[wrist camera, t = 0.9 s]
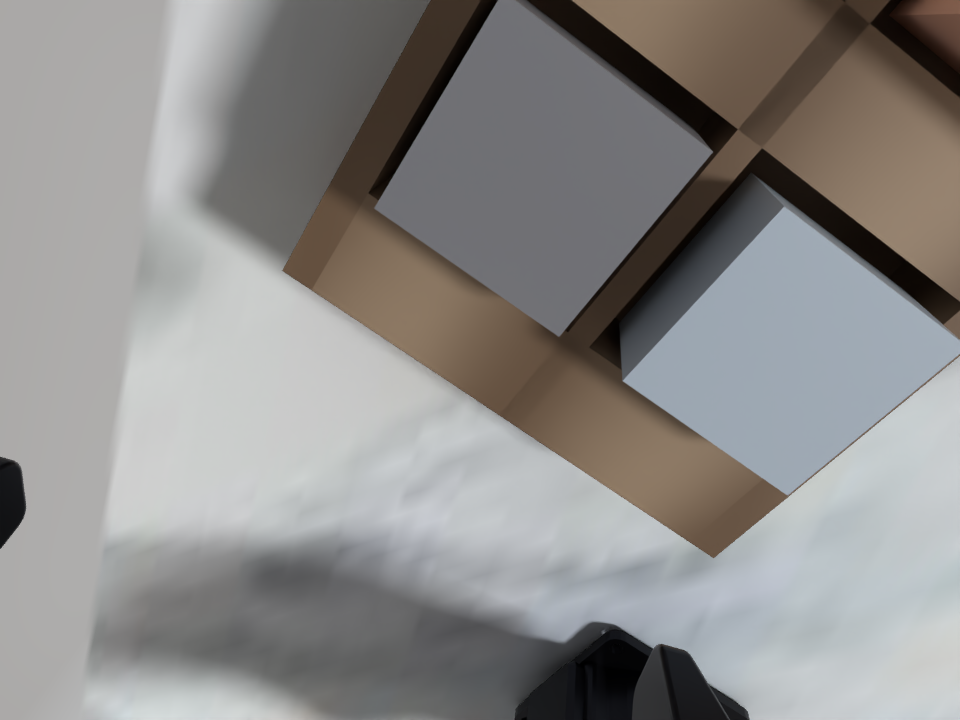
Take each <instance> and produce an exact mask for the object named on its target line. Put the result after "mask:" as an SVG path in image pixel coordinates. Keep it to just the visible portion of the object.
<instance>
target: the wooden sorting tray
mask: <svg viewBox="0 0 960 720" xmlns="http://www.w3.org/2000/svg"><path fill="white" fill-rule="evenodd" d="M497 1H498V0H431V1H430V3H429V4H428V6H427V8H426V10H425V12H424V13H423V15H422V17H421V19H420V21H419V23H418V24H417V26H416V28H415V30H414V32H413V34H412V35H411V37H410V39H409V41H408V43H407V44H406V46H405V48H404V50H403V52H402V54H401V55H400V57H399V59H398V61H397V63H396V65H395V66H394V68H393V70H392V72H391V74H390V75H389V77H388V79H387V81H386V83H385V85H384V86H383V88H382V90H381V92H380V94H379V95H378V97H377V99H376V101H375V103H374V105H373V106H372V108H371V110H370V112H369V114H368V116H367V117H366V119H365V121H364V123H363V125H362V126H361V128H360V130H359V132H358V134H357V136H356V137H355V139H354V141H353V143H352V145H351V147H350V148H349V150H348V152H347V154H346V156H345V157H344V159H343V161H342V163H341V165H340V167H339V168H338V170H337V172H336V174H335V176H334V178H333V179H332V181H331V183H330V185H329V187H328V188H327V190H326V192H325V194H324V196H323V198H322V199H321V201H320V203H319V205H318V207H317V209H316V210H315V212H314V214H313V216H312V218H311V219H310V221H309V223H308V225H307V227H306V229H305V230H304V232H303V234H302V236H301V238H300V239H299V241H298V243H297V245H296V247H295V249H294V250H293V252H292V254H291V256H290V258H289V260H288V261H287V263H286V265H285V267H284V269H283V270H282V271H284V272H285V273H287V274H288V275H290V276H291V277H293V278H294V279H296V280H297V281H299V282H300V283H302V284H303V285H305V286H306V287H308V288H309V289H311V290H312V291H314V292H315V293H317V294H318V295H320V296H321V297H323V298H324V299H326V300H327V301H329V302H330V303H332V304H333V305H335V306H336V307H338V308H339V309H341V310H342V311H344V312H345V313H347V314H348V315H350V316H351V317H353V318H354V319H356V320H357V321H359V322H360V323H362V324H363V325H365V326H366V327H368V328H369V329H371V330H372V331H374V332H375V333H377V334H378V335H380V336H381V337H383V338H384V339H386V340H387V341H389V342H390V343H392V344H393V345H395V346H396V347H398V348H399V349H401V350H402V351H404V352H405V353H407V354H408V355H410V356H411V357H413V358H414V359H416V360H417V361H419V362H420V363H422V364H423V365H425V366H426V367H428V368H429V369H431V370H432V371H434V372H435V373H437V374H438V375H440V376H441V377H443V378H444V379H446V380H447V381H449V382H450V383H452V384H453V385H455V386H456V387H458V388H459V389H461V390H462V391H464V392H465V393H467V394H468V395H470V396H471V397H473V398H474V399H476V400H477V401H479V402H480V403H482V404H483V405H485V406H486V407H488V408H489V409H491V410H492V411H494V412H495V413H497V414H498V415H500V416H501V417H503V418H504V419H506V420H507V421H509V422H510V423H512V424H513V425H515V426H516V427H518V428H519V429H521V430H522V431H524V432H525V433H527V434H528V435H530V436H531V437H533V438H534V439H536V440H537V441H539V442H540V443H542V444H543V445H545V446H546V447H548V448H549V449H551V450H552V451H554V452H555V453H557V454H558V455H560V456H561V457H563V458H564V459H566V460H567V461H569V462H570V463H572V464H573V465H575V466H576V467H578V468H579V469H581V470H582V471H584V472H585V473H587V474H588V475H590V476H591V477H593V478H594V479H596V480H597V481H599V482H600V483H602V484H603V485H605V486H606V487H608V488H609V489H611V490H612V491H614V492H615V493H617V494H618V495H620V496H621V497H623V498H624V499H626V500H627V501H629V502H630V503H632V504H633V505H635V506H636V507H638V508H639V509H641V510H642V511H644V512H645V513H647V514H648V515H650V516H651V517H653V518H654V519H656V520H657V521H659V522H660V523H662V524H663V525H665V526H666V527H668V528H669V529H671V530H672V531H674V532H675V533H677V534H678V535H680V536H681V537H683V538H684V539H686V540H687V541H689V542H690V543H692V544H693V545H695V546H696V547H698V548H699V549H701V550H702V551H704V552H705V553H707V554H708V555H710V556H711V557H713V558H714V557H716V556H717V555H718V554H719V553H720V552H722V551H723V550H724V549H725V548H726V547H728V546H729V545H730V544H731V543H733V542H734V541H735V540H736V539H737V538H739V537H740V536H741V535H742V534H744V533H745V532H746V531H747V530H748V529H750V528H751V527H752V526H753V525H755V524H756V523H757V522H758V521H759V520H761V519H762V518H763V517H764V516H765V515H767V514H768V513H769V512H770V511H772V510H773V509H774V508H775V507H776V506H778V505H779V504H780V503H781V502H783V501H784V500H785V499H786V498H787V497H789V496H790V495H791V494H792V493H793V492H795V491H796V490H797V489H798V488H800V487H801V486H802V485H803V484H804V483H806V482H807V481H808V480H809V479H811V478H812V477H813V476H814V475H815V474H817V473H818V472H819V471H820V470H821V469H823V468H824V467H825V466H826V465H828V464H829V463H830V462H831V461H832V460H834V459H835V458H836V457H837V456H839V455H840V454H841V453H842V452H843V451H845V450H846V449H847V448H848V447H849V446H851V445H852V444H853V443H854V442H856V441H857V440H858V439H859V438H860V437H862V436H863V435H864V434H865V433H867V432H868V431H869V430H870V429H871V428H873V427H874V426H875V425H876V424H877V423H879V422H880V421H881V420H882V419H884V418H885V417H886V416H887V415H888V414H890V413H891V412H892V411H893V410H895V409H896V408H897V407H898V406H899V405H901V404H902V403H903V402H904V401H905V400H907V399H908V398H909V397H910V396H912V395H913V394H914V393H915V392H916V391H918V390H919V389H920V388H921V387H923V386H924V385H925V384H926V383H927V382H929V381H930V380H931V379H932V378H933V377H935V376H936V375H937V374H938V373H940V372H941V371H942V370H943V369H944V368H946V367H947V366H948V365H949V364H951V363H952V362H953V361H954V360H955V359H957V358H958V357H959V356H960V354H959V355H958V356H957V357H955V358H954V359H953V360H952V361H951V362H949V363H948V364H947V365H946V366H945V367H943V368H942V369H941V370H940V371H938V372H937V373H936V374H935V375H934V376H932V377H931V378H930V379H929V380H928V381H926V382H925V383H924V384H923V385H921V386H920V387H919V388H918V389H917V390H915V391H914V392H913V393H912V394H910V395H909V396H908V397H907V398H906V399H904V400H903V401H902V402H901V403H900V404H898V405H897V406H896V407H895V408H893V409H892V410H891V411H890V412H889V413H887V414H886V415H885V416H884V417H883V418H881V419H880V420H879V421H878V422H876V423H875V424H874V425H873V426H872V427H870V428H869V429H868V430H867V431H866V432H864V433H863V434H862V435H861V436H859V437H858V438H857V439H856V440H855V441H853V442H852V443H851V444H850V445H849V446H847V447H846V448H845V449H844V450H842V451H841V452H840V453H839V454H838V455H836V456H835V457H834V458H833V459H831V460H830V461H829V462H828V463H827V464H825V465H824V466H823V467H822V468H821V469H819V470H818V471H817V472H816V473H814V474H813V475H812V476H811V477H810V478H808V479H807V480H806V481H805V482H804V483H802V484H801V485H800V486H799V487H797V488H796V489H795V490H794V491H793V492H791V493H790V494H789V495H788V496H787V495H786V494H785V493H783V492H782V491H780V490H779V489H777V488H776V487H774V486H773V485H772V484H770V483H769V482H767V481H766V480H764V479H763V478H761V477H760V476H759V475H757V474H756V473H754V472H753V471H751V470H750V469H749V468H747V467H746V466H744V465H743V464H741V463H740V462H738V461H737V460H736V459H734V458H733V457H731V456H730V455H728V454H727V453H725V452H724V451H723V450H721V449H720V448H718V447H717V446H715V445H714V444H713V443H711V442H710V441H708V440H707V439H705V438H704V437H702V436H701V435H700V434H698V433H697V432H695V431H694V430H692V429H691V428H689V427H688V426H687V425H685V424H684V423H682V422H681V421H679V420H678V419H677V418H675V417H674V416H672V415H671V414H669V413H668V412H666V411H665V410H664V409H662V408H661V407H659V406H658V405H656V404H655V403H653V402H652V401H651V400H649V399H648V398H646V397H645V396H643V395H642V394H641V393H639V392H638V391H636V390H635V389H633V388H632V387H630V386H629V385H628V384H626V383H625V382H623V381H622V364H621V347H620V330H619V323H620V322H621V320H622V319H623V318H624V317H625V316H626V315H627V314H628V312H629V311H630V310H631V309H632V308H633V307H634V306H635V304H636V303H637V302H638V301H639V300H640V299H641V298H642V296H643V295H644V294H645V293H646V292H647V291H648V290H649V288H650V287H651V286H652V285H653V284H654V283H655V282H656V280H657V279H658V278H659V277H660V276H661V275H662V274H663V272H664V271H665V270H666V269H667V268H668V267H669V266H670V264H671V263H672V262H673V261H674V260H675V259H676V258H677V256H678V255H679V254H680V253H681V252H682V251H683V250H684V248H685V247H686V246H687V245H688V244H689V243H690V242H691V240H692V239H693V238H694V237H695V236H696V235H697V234H698V233H699V231H700V230H701V229H702V228H703V227H704V226H705V225H706V223H707V222H708V221H709V220H710V219H711V218H712V217H713V215H714V214H715V213H716V212H717V211H718V210H719V209H720V207H721V206H722V205H723V204H724V203H725V202H726V201H727V199H728V198H729V197H730V196H731V195H732V194H733V193H734V191H735V190H736V189H737V188H738V187H739V186H740V185H741V183H742V182H743V181H744V180H745V179H746V178H747V177H748V175H749V174H750V173H753V174H754V175H755V176H756V177H758V178H759V179H760V180H762V181H763V182H764V183H766V184H767V185H768V186H769V187H771V188H772V189H773V190H775V191H776V192H777V193H779V194H780V195H781V196H782V197H784V198H785V199H786V200H788V201H789V202H790V203H792V204H793V205H794V206H795V207H797V208H798V209H799V210H801V211H802V212H803V213H805V214H806V215H807V216H809V217H810V218H811V219H812V220H814V221H815V222H816V223H818V224H819V225H820V226H822V227H823V228H824V229H825V230H827V231H828V232H829V233H831V234H832V235H833V236H835V237H836V238H837V239H838V240H840V241H841V242H842V243H844V244H845V245H846V246H848V247H849V248H850V249H851V250H853V251H854V252H855V253H857V254H858V255H859V256H861V257H862V258H863V259H864V260H866V261H867V262H868V263H870V264H871V265H872V266H874V267H875V268H876V269H877V270H879V271H880V272H881V273H883V274H884V275H885V276H887V277H888V278H889V279H891V280H892V281H893V282H894V283H896V284H897V285H898V286H900V287H901V288H902V289H904V290H905V291H906V292H907V293H908V294H909V295H910V296H911V297H913V298H914V299H915V300H916V301H917V302H918V303H919V304H920V305H921V306H923V307H924V308H925V309H926V310H927V311H928V312H929V313H930V314H932V315H933V316H934V317H935V318H936V319H937V320H938V321H939V322H941V323H942V324H943V325H944V326H945V327H946V328H947V329H948V330H949V331H951V332H952V333H953V334H954V335H955V336H956V337H957V338H958V339H960V74H959V73H958V72H956V71H955V70H954V69H953V68H952V67H950V66H949V65H948V64H947V63H946V62H944V61H943V60H942V59H941V58H940V57H939V56H937V55H936V54H935V53H934V52H933V51H931V50H930V49H929V48H928V47H927V46H925V45H924V44H923V43H922V42H921V41H919V40H918V39H917V38H916V37H915V36H913V35H912V34H911V33H910V32H909V31H907V30H906V29H905V28H904V27H903V26H901V25H900V24H899V23H898V22H897V21H895V20H894V19H893V18H892V17H891V16H889V15H890V13H891V12H892V11H893V10H894V9H895V8H896V7H897V5H898V4H899V3H900V2H901V1H902V0H527V1H529V2H530V3H531V4H533V5H534V6H535V7H536V8H538V9H539V10H540V11H542V12H543V13H544V14H546V15H547V16H548V17H549V18H551V19H552V20H553V21H555V22H556V23H557V24H559V25H560V26H561V27H562V28H564V29H565V30H566V31H568V32H569V33H570V34H572V35H573V36H574V37H575V38H577V39H578V40H579V41H581V42H582V43H583V44H585V45H586V46H587V47H589V48H590V49H591V50H592V51H594V52H595V53H596V54H598V55H599V56H600V57H602V58H603V59H604V60H605V61H607V62H608V63H609V64H611V65H612V66H613V67H615V68H616V69H617V70H618V71H620V72H621V73H622V74H624V75H625V76H626V77H628V78H629V79H630V80H631V81H633V82H634V83H635V84H637V85H638V86H639V87H641V88H642V89H643V90H644V91H646V92H647V93H648V94H650V95H651V96H652V97H654V98H655V99H656V100H658V101H659V102H660V103H661V104H663V105H664V106H665V107H667V108H668V109H669V110H671V111H672V112H673V113H674V114H676V115H677V116H678V117H680V118H681V119H682V120H684V121H685V122H686V123H687V124H689V125H690V126H691V127H693V129H694V130H695V131H696V132H697V133H698V134H699V136H700V137H701V138H702V139H703V140H704V142H705V143H706V144H707V145H708V146H709V148H710V149H711V150H712V151H713V153H712V154H711V155H710V156H709V157H708V159H707V160H706V161H705V162H704V163H703V165H702V166H701V167H700V168H699V169H698V171H697V172H696V173H695V174H694V175H693V177H692V178H691V179H690V180H689V181H688V183H687V184H686V185H685V186H684V187H683V189H682V190H681V191H680V192H679V193H678V195H677V196H676V197H675V198H674V199H673V201H672V202H671V203H670V204H669V205H668V207H667V208H666V209H665V210H664V211H663V213H662V214H661V215H660V216H659V217H658V219H657V220H656V221H655V222H654V223H653V225H652V226H651V227H650V228H649V229H648V231H647V232H646V233H645V234H644V235H643V237H642V238H641V239H640V240H639V241H638V243H637V244H636V245H635V246H634V247H633V249H632V250H631V251H630V252H629V253H628V255H627V256H626V257H625V258H624V259H623V261H622V262H621V263H620V264H619V265H618V267H617V268H616V269H615V270H614V271H613V273H612V274H611V275H610V276H609V277H608V279H607V280H606V281H605V282H604V283H603V285H602V286H601V287H600V288H599V289H598V291H597V292H596V293H595V294H594V296H593V297H592V298H591V299H590V300H589V302H588V303H587V304H586V305H585V306H584V308H583V309H582V310H581V311H580V312H579V314H578V315H577V316H576V317H575V318H574V320H573V321H572V322H571V323H570V324H569V326H568V327H567V328H566V329H565V330H564V332H563V333H562V334H561V335H560V336H559V337H558V336H557V335H556V334H554V333H553V332H551V331H550V330H548V329H547V328H545V327H544V326H543V325H541V324H540V323H538V322H537V321H535V320H534V319H533V318H531V317H530V316H528V315H527V314H525V313H524V312H522V311H521V310H520V309H518V308H517V307H515V306H514V305H512V304H511V303H509V302H508V301H507V300H505V299H504V298H502V297H501V296H499V295H498V294H497V293H495V292H494V291H492V290H491V289H489V288H488V287H486V286H485V285H484V284H482V283H481V282H479V281H478V280H476V279H475V278H473V277H472V276H471V275H469V274H468V273H466V272H465V271H463V270H462V269H461V268H459V267H458V266H456V265H455V264H453V263H452V262H450V261H449V260H448V259H446V258H445V257H443V256H442V255H440V254H439V253H437V252H436V251H435V250H433V249H432V248H430V247H429V246H427V245H426V244H425V243H423V242H422V241H420V240H419V239H417V238H416V237H414V236H413V235H412V234H410V233H409V232H407V231H406V230H404V229H403V228H401V227H400V226H399V225H397V224H396V223H394V222H393V221H391V220H390V219H389V218H387V217H386V216H384V215H383V214H381V213H380V212H378V211H377V210H376V209H374V208H375V206H376V204H377V203H378V201H379V199H380V198H381V196H382V194H383V193H384V191H385V189H386V188H387V186H388V184H389V183H390V181H391V179H392V178H393V176H394V174H395V172H396V171H397V169H398V167H399V166H400V164H401V162H402V161H403V159H404V157H405V156H406V154H407V152H408V151H409V149H410V147H411V146H412V144H413V142H414V141H415V139H416V137H417V136H418V134H419V132H420V130H421V129H422V127H423V125H424V124H425V122H426V120H427V119H428V117H429V115H430V114H431V112H432V110H433V109H434V107H435V105H436V104H437V102H438V100H439V99H440V97H441V95H442V94H443V92H444V90H445V89H446V87H447V85H448V83H449V82H450V80H451V78H452V77H453V75H454V73H455V72H456V70H457V68H458V67H459V65H460V63H461V62H462V60H463V58H464V57H465V55H466V53H467V52H468V50H469V48H470V47H471V45H472V43H473V41H474V40H475V38H476V36H477V35H478V33H479V31H480V30H481V28H482V26H483V25H484V23H485V21H486V20H487V18H488V16H489V15H490V13H491V11H492V10H493V8H494V6H495V5H496V3H497Z"/></svg>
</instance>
